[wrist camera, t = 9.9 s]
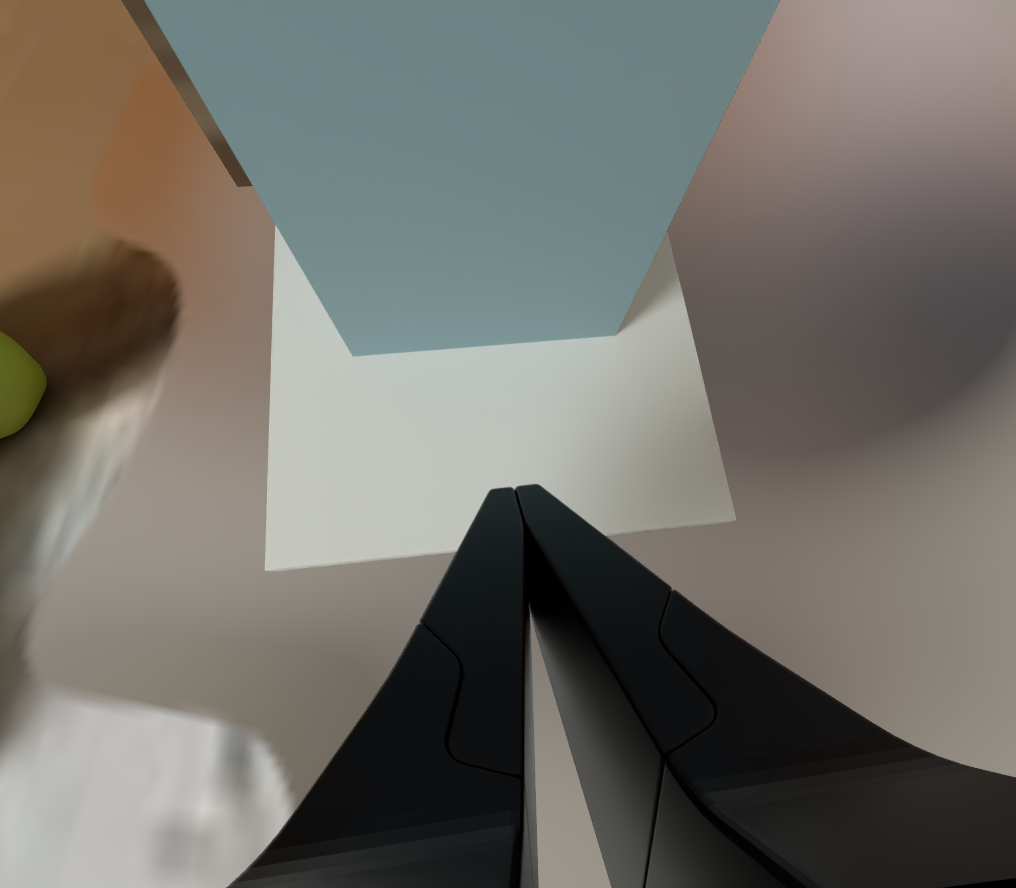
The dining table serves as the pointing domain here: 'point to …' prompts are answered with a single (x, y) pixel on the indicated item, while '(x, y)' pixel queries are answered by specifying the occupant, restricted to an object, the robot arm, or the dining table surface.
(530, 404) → the plate
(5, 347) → the dumbbell
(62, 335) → the dining table surface
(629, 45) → the block
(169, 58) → the board
